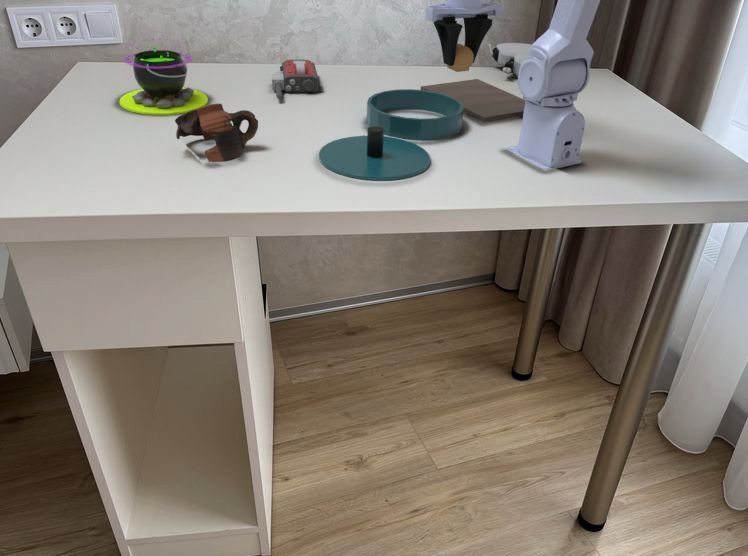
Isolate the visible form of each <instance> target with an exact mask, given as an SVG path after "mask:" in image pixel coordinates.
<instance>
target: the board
mask: <svg viewBox="0 0 748 556" xmlns="http://www.w3.org/2000/svg"><path fill="white" fill-rule="evenodd" d="M420 90H426V91H431V92H437V93H441V94H445V95H448V96H451V97H453V98H455V99H457V100H459V101H460V102H461V103H462V104H463V114H465V115H467V116H470V117H471V118H474V119H476V120H478V121H480V122H482V123H489V122H495V121H501V120H506V119H512V118H520V119H523V114H524V107H525V101H526V100H525V99H523V97H520V96H517V95H515V94H512V93H510V92H508V91H506V90H504V89H502V88H499V87H497V86H495V85H492V84H491V83H488V82H485V81H483V80H482V79H479V78H473V79H467V80H466V79H465V80H459V81H458V80H457V81H451V82H444V83H436V84H428V85H422V86H420Z"/></svg>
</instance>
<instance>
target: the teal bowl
mask: <svg viewBox="0 0 748 556" xmlns="http://www.w3.org/2000/svg"><path fill="white" fill-rule="evenodd" d="M397 110H415V111H425V112H431V113H436V114H438V115H443V116H440V117H431V118H430V117H428V118H419V117H406V116H400V115H393V114H391V113H387V112H390V111H397ZM463 117H464V112H463V104H462V103H461V102H460V101H459V100H457V99H455V98H453V97H451V96H448V95H445V94H441V93H437V92H431V91H426V90H421V89H411V88H408V89H405V88H404V89H403V88H402V89H391V90H389V89H388V90H383V91H379V92H377V93H373V94H372V95H370V96H369V97H368V99H367V102H366V124H367V125H368V127H371V126H378V127H382V128H383V129H384V136H386V137H391V138H397V139H401V140H407V141H408V140H409V141H436V140H442V139H447V138H451V137H453V136H455V135H458V133H459V132H461V131H462V128H463V120H464V119H463Z"/></svg>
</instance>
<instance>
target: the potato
mask: <svg viewBox="0 0 748 556" xmlns="http://www.w3.org/2000/svg"><path fill="white" fill-rule="evenodd" d="M473 60H474V56H473V52H472V51H471V49H470V48H468V47H467V46H465V45H463V44H462V43H458V42H457V47H456V56H455V61H454V65H453V66H449V65H447V64H446V66H447V69H449V70H452V71H454V72H456V73H461V72H469V71H470V68H471V67H472V66H473V64H474V63H473Z"/></svg>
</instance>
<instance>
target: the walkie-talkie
mask: <svg viewBox="0 0 748 556" xmlns="http://www.w3.org/2000/svg"><path fill="white" fill-rule="evenodd" d="M317 71H318V70H317V68H316V64H315V62H314V61H313V62H312V61H311V60H309V59H305V58H292V59H285V60H284V61H282V62H281V66H279V70H278V71H276V72H274V73H272V76H271V77H272V78H271V88H272V91H275V96H276V99H277V100H283V91H284V92H285V93H316V92H319V86H320V79H319V75H318V72H317Z"/></svg>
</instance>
